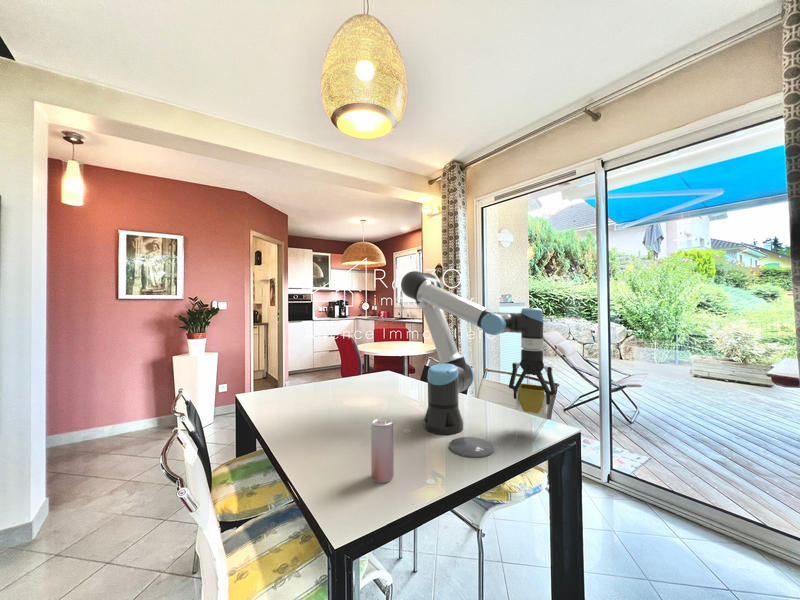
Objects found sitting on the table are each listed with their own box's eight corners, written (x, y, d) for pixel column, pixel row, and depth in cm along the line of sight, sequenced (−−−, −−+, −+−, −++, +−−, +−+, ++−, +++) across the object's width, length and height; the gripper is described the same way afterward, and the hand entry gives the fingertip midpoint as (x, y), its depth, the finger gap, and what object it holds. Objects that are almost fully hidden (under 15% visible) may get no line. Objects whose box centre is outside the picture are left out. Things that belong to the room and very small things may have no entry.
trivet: (442, 450, 103) (442, 448, 103) (460, 436, 115) (460, 434, 115) (485, 461, 96) (485, 459, 96) (499, 445, 107) (499, 442, 107)
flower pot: (544, 409, 122) (544, 385, 122) (544, 416, 114) (544, 391, 114) (519, 406, 125) (520, 383, 126) (517, 412, 117) (518, 388, 118)
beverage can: (371, 473, 89) (371, 418, 90) (392, 471, 90) (392, 417, 90) (371, 484, 84) (371, 426, 84) (394, 483, 84) (393, 425, 85)
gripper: (499, 348, 123) (499, 407, 123) (562, 353, 111) (562, 419, 110) (505, 346, 129) (505, 402, 129) (565, 351, 117) (565, 413, 117)
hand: (531, 410), depth 120 cm, fingers closed on flower pot, 9 cm apart
